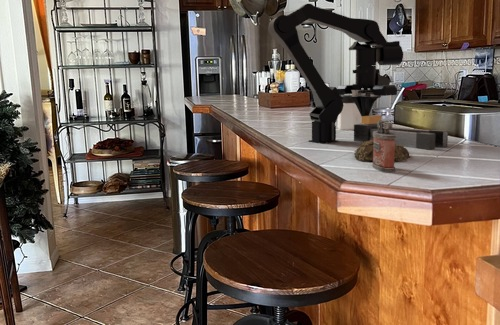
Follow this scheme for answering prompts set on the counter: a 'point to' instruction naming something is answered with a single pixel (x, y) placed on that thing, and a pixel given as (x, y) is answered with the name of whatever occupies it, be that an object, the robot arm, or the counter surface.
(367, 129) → the tongs base
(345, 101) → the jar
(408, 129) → the tong arm
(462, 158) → the counter surface
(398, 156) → the bread roll
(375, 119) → the lock tab
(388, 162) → the lighter
